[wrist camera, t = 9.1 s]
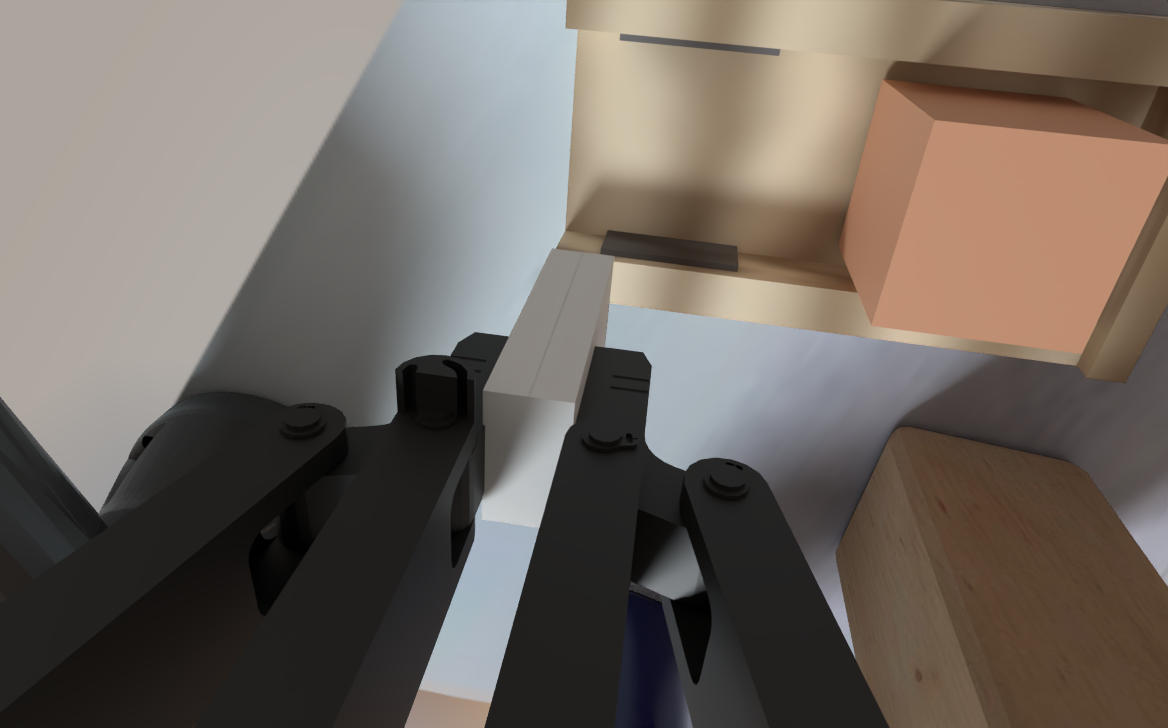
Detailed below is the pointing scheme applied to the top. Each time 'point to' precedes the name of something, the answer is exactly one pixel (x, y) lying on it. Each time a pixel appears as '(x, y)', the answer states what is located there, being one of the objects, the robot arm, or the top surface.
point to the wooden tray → (819, 146)
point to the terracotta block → (996, 213)
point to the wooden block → (1000, 593)
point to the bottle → (649, 671)
